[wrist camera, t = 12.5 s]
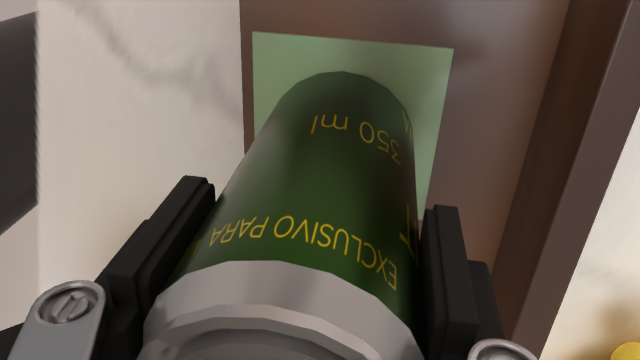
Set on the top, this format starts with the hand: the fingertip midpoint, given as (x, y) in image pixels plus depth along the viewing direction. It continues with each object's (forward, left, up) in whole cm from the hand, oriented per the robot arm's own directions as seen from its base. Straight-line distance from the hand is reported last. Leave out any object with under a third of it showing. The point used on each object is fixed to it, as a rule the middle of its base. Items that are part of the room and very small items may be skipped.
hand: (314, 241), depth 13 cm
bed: (+2, -3, -11) cm, 11 cm away
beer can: (0, 0, -7) cm, 7 cm away
